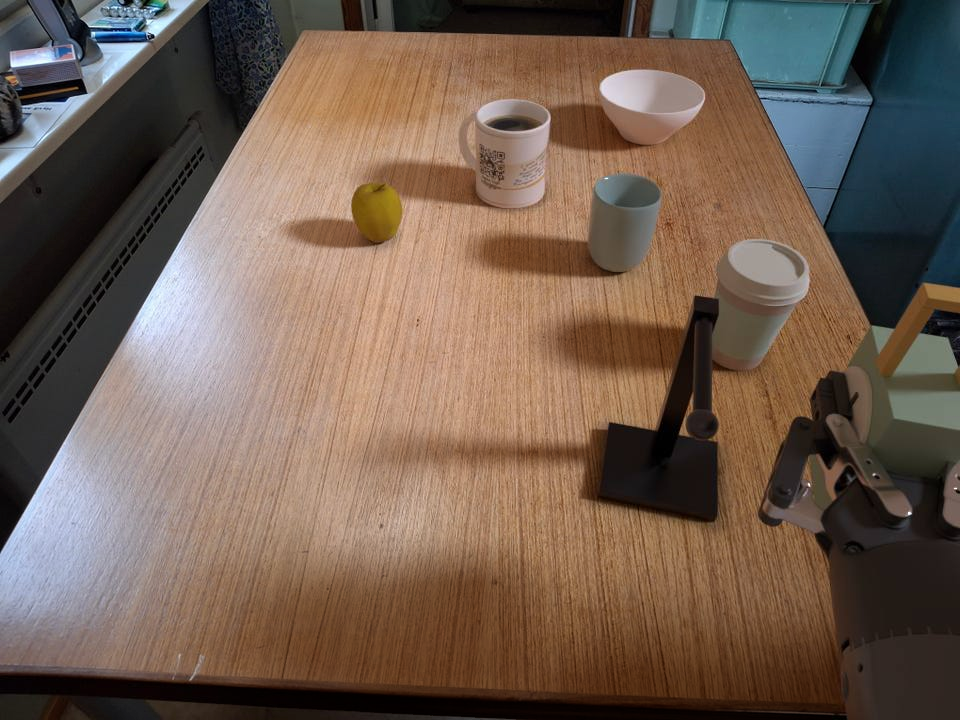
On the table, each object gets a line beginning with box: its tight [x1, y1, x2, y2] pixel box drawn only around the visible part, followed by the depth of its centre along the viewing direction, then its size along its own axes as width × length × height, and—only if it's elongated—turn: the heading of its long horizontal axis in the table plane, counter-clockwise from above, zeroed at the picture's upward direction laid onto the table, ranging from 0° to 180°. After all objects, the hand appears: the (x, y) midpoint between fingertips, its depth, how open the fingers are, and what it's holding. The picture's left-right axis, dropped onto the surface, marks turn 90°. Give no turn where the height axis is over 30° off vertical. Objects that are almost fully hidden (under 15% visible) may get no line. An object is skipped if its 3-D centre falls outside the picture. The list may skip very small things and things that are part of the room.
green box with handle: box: [808, 282, 960, 510], centre depth 36 cm, size 5×7×15 cm, turn 166°
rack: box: [597, 294, 720, 523], centre depth 52 cm, size 10×14×18 cm
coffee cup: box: [712, 238, 811, 372], centre depth 68 cm, size 8×8×12 cm
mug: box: [457, 98, 552, 209], centre depth 92 cm, size 10×12×11 cm
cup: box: [587, 173, 663, 273], centre depth 80 cm, size 8×8×10 cm
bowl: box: [598, 69, 706, 146], centre depth 105 cm, size 16×16×7 cm
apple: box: [350, 182, 403, 244], centre depth 84 cm, size 6×6×8 cm
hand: (875, 389), depth 39 cm, fingers closed on green box with handle, 4 cm apart
